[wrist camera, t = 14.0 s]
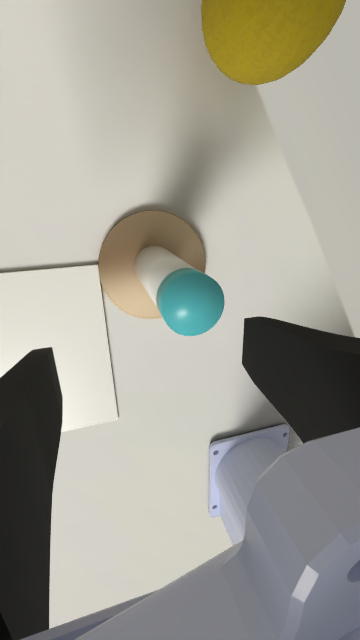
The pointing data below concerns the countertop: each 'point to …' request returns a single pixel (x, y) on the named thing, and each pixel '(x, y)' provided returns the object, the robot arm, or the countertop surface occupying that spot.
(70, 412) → the paper
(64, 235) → the countertop surface
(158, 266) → the marker
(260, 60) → the lemon
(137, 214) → the coaster
